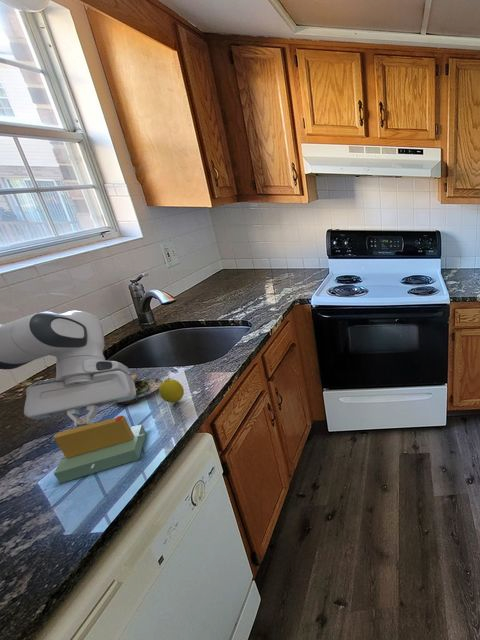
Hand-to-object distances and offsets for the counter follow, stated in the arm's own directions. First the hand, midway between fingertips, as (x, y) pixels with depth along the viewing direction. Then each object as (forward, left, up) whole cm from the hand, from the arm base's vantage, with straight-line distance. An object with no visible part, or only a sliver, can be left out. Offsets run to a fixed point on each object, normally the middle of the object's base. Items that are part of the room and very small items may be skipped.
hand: (83, 426), depth 88 cm
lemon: (+16, +12, -7) cm, 21 cm away
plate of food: (+6, +24, -7) cm, 26 cm away
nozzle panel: (+3, -6, -6) cm, 9 cm away
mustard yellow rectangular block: (+3, -6, -3) cm, 7 cm away
